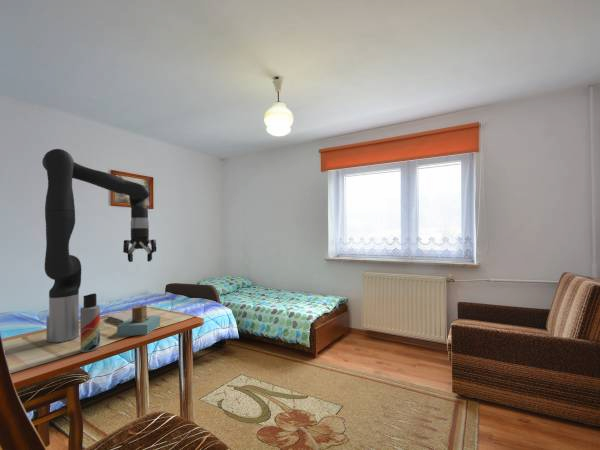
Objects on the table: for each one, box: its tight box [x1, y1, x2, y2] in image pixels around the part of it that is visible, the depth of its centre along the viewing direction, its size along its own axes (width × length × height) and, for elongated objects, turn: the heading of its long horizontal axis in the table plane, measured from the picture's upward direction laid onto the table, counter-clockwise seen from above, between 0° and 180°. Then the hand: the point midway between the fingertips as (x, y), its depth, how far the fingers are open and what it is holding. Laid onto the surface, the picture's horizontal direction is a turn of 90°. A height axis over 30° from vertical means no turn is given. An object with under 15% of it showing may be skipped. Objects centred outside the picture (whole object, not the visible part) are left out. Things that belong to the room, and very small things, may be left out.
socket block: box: [116, 315, 161, 337], centre depth 124 cm, size 12×12×4 cm
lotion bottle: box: [79, 292, 101, 353], centre depth 104 cm, size 6×6×20 cm
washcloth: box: [106, 309, 148, 325], centre depth 140 cm, size 12×18×3 cm, turn 57°
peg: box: [131, 304, 148, 323], centre depth 124 cm, size 4×4×10 cm
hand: (140, 261), depth 137 cm, fingers open, 8 cm apart
